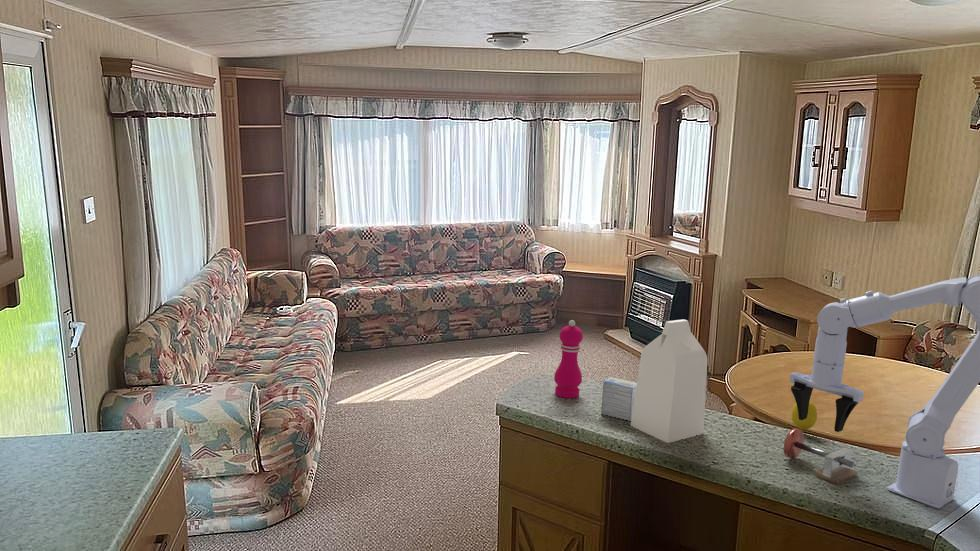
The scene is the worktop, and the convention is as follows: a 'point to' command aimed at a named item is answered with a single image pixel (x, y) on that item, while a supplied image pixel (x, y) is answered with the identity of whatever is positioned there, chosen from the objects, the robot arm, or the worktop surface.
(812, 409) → the lemon
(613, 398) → the grey rectangular block
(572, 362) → the pepper mill
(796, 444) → the red wheel with axle
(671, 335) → the milk
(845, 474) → the eye bracket
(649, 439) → the worktop surface
